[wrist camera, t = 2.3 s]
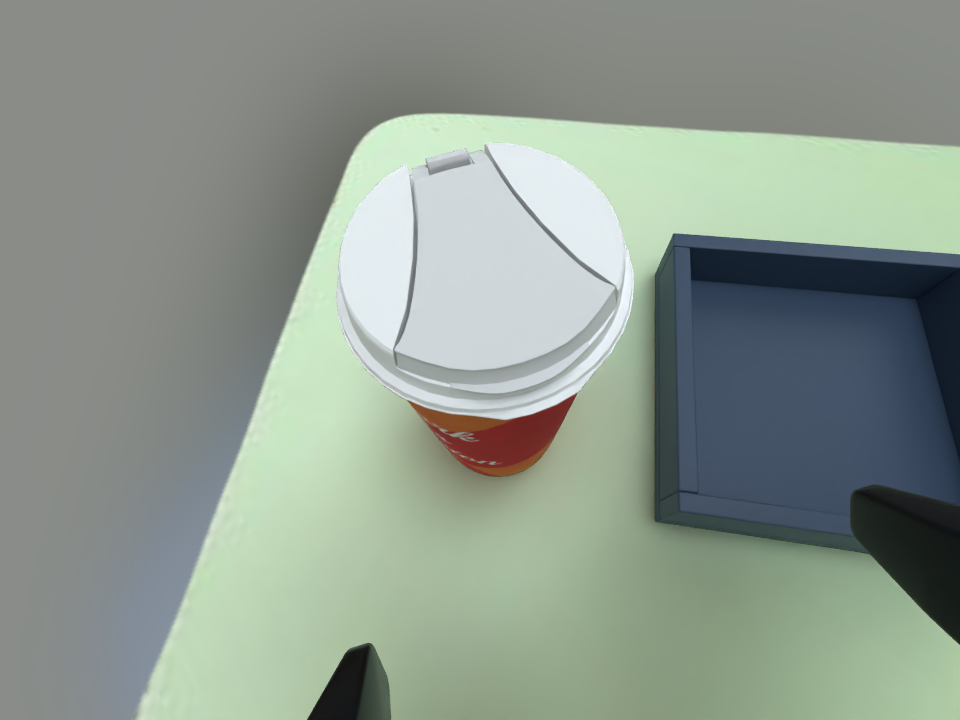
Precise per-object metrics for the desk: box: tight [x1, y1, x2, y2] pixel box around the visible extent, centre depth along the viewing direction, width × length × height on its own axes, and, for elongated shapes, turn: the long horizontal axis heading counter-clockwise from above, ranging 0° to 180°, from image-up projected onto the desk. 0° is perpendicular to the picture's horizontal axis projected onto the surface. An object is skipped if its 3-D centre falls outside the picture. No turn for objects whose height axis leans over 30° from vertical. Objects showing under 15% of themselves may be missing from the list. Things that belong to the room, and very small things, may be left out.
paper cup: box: [336, 143, 634, 476], centre depth 17 cm, size 8×8×14 cm
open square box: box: [655, 234, 960, 553], centre depth 22 cm, size 14×14×4 cm
